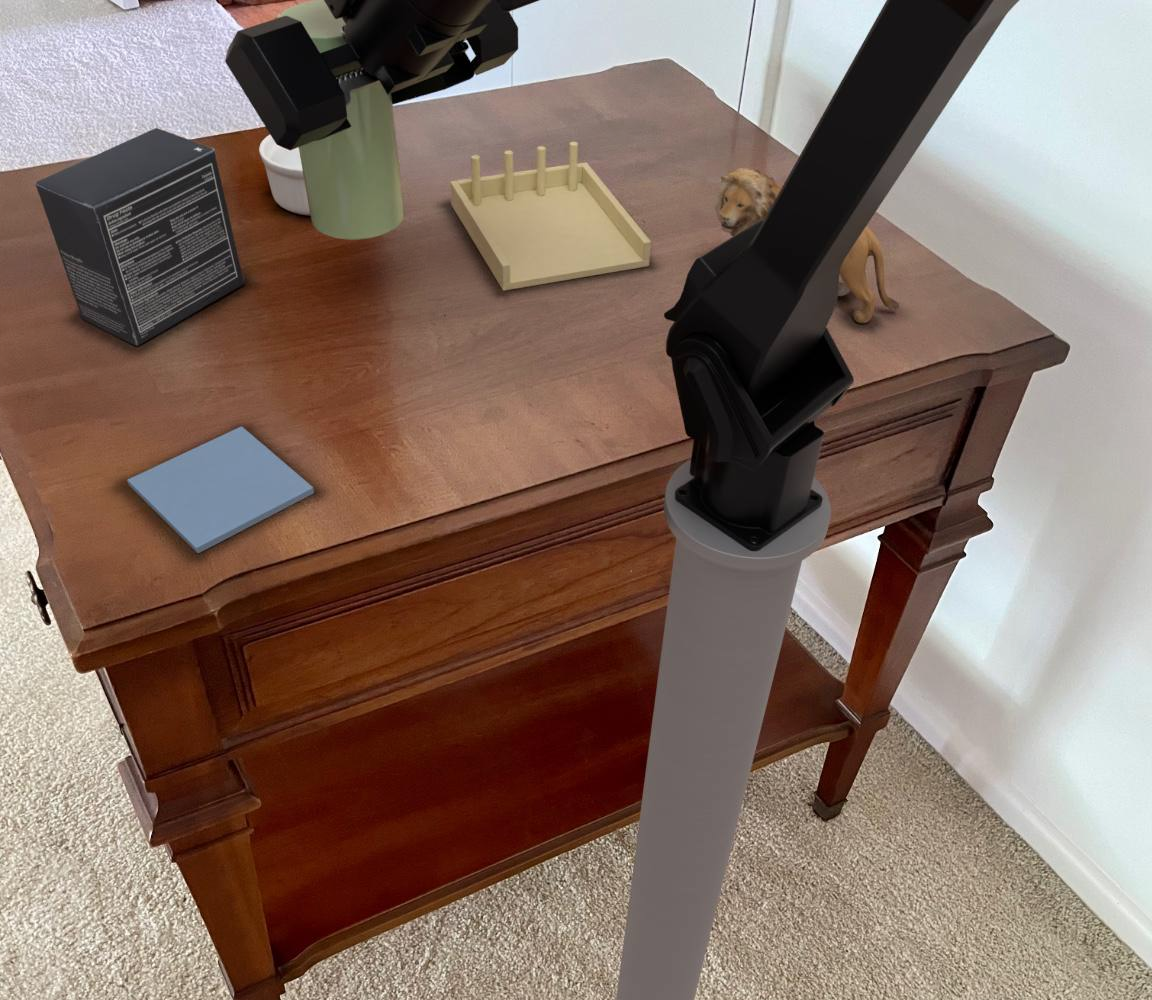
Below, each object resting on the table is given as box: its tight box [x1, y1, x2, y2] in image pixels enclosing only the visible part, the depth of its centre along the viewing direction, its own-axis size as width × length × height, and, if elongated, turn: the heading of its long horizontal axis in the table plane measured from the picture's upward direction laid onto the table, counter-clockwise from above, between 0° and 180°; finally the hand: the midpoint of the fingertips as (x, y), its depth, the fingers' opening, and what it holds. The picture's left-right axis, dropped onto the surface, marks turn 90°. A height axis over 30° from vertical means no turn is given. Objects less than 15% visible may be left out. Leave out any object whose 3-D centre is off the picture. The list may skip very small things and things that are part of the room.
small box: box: [34, 127, 245, 347], centre depth 79 cm, size 11×6×10 cm, turn 146°
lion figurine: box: [714, 167, 900, 324], centre depth 83 cm, size 15×5×9 cm, turn 73°
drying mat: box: [126, 426, 315, 554], centre depth 69 cm, size 8×8×1 cm
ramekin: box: [258, 134, 310, 216], centre depth 93 cm, size 9×9×4 cm
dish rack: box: [449, 141, 652, 291], centre depth 90 cm, size 14×12×5 cm
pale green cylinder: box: [277, 0, 406, 241], centre depth 74 cm, size 6×6×13 cm
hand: (330, 117), depth 74 cm, fingers closed on pale green cylinder, 6 cm apart
